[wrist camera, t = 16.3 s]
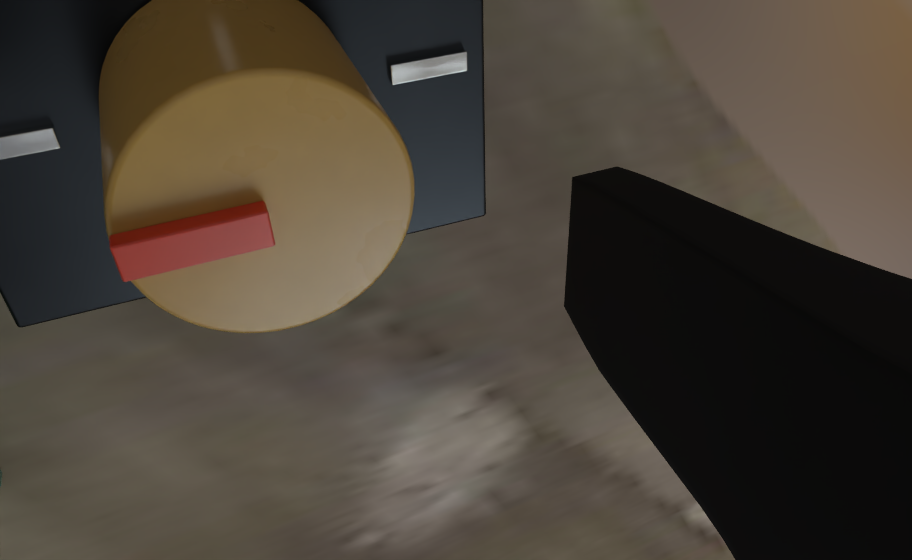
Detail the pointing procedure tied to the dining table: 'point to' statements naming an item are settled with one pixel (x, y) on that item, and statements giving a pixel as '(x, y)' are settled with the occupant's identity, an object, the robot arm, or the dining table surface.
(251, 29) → the tap knob
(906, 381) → the robot arm
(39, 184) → the black dial box
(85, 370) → the dining table surface
